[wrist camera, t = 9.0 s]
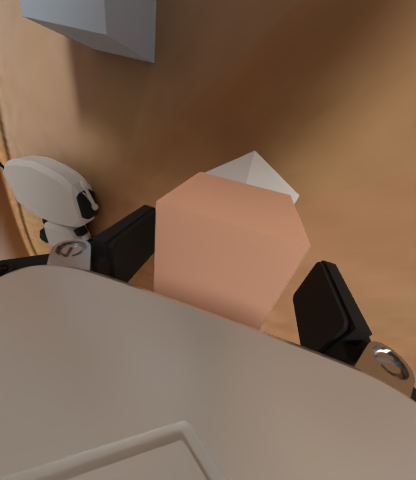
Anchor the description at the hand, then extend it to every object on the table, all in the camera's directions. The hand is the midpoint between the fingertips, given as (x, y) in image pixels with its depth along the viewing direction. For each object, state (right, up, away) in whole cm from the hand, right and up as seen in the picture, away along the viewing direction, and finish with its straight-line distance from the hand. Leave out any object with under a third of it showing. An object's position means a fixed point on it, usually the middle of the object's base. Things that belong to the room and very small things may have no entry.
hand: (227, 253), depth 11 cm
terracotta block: (+1, +2, +3) cm, 4 cm away
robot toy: (-21, +6, +17) cm, 27 cm away
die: (+3, +6, +9) cm, 11 cm away
